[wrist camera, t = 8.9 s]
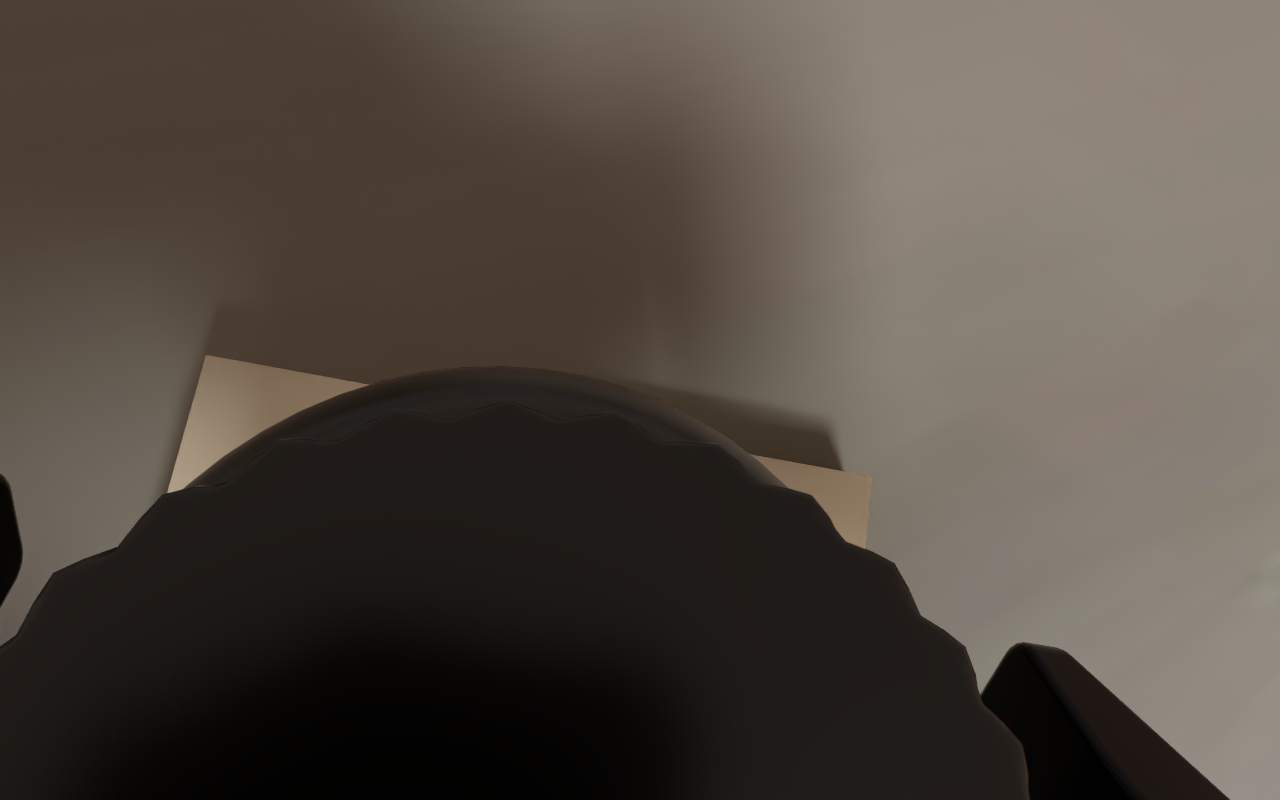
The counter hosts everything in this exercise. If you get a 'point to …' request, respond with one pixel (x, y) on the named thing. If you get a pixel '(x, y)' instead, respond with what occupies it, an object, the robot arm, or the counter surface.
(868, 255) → the counter surface
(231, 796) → the supplement bottle
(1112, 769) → the robot arm
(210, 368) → the maple board
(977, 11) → the counter surface
